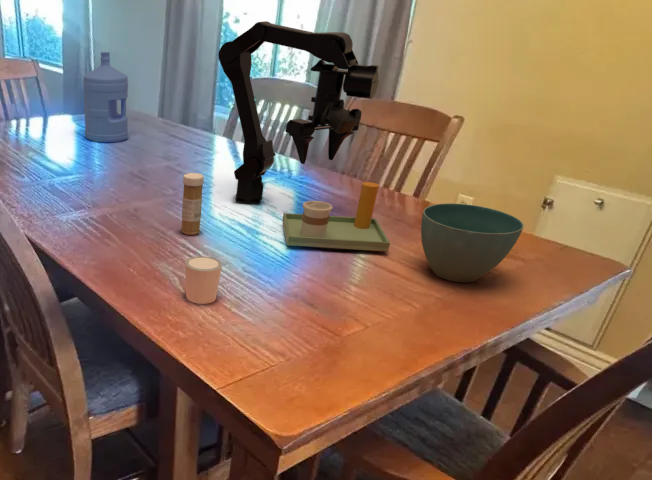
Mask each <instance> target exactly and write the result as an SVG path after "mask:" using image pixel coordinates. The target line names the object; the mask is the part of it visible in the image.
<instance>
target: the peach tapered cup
mask: <svg viewBox="0 0 652 480" xmlns="http://www.w3.org/2000/svg"><path fill="white" fill-rule="evenodd" d="M222 268H223V263H222V261H221V260H219V259H217V258H215V257H212V256H204V255H199V256H197V255H196V256H191V257H188V258H187V259H186V260H185V262H184V271H185V273H184V275H185V297H186V299H187V301H189V302H190V303H194V304H196V305H197V304H198V305H207V304H211V303H214V302H215V301H216V300H217V294H218V288H219V284H220V278H221V274H222V273H221V272H222Z"/></svg>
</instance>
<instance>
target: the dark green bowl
mask: <svg viewBox="0 0 652 480" xmlns="http://www.w3.org/2000/svg"><path fill="white" fill-rule="evenodd" d="M524 227H525V225H524V223H523V222H522V221H521V220H520V219H519V218H517V217H515V216H514V215H512V214H509V213H506V212H504V211H501V210H498V209H495V208H490V207H486V206H480V205H474V204H467V203H454V202H453V203H452V202H451V203H450V202H449V203H436V204H432V205H429V206H426V207H424V209H423V211H422V215H421V223H420V238H421V245H422V250H423V253H424V256H425V259H426V262H427V263H428V265H429V267H430V269H431V270H432V272H433V273H434V274H435V275H436V276H437V277H439V278H441V279H444V280H447V281H450V282H455V283H472V282H475V281H477V280H480V279H481V278H482V277H483V276H485V275H487V274H488V273H490V272H491V271H492V270H494V269H495V268H496V267H497V266H498V265H499V264H500V263H501V262H503V260H505V258H506V257H507V256H508V255H509V253H510V252H511V250H512V249H513V247H514V246H515V245H516V243H517V242H518V240H519V238H520V236H521V234H522V233H523V229H524Z"/></svg>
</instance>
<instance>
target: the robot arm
mask: <svg viewBox="0 0 652 480" xmlns="http://www.w3.org/2000/svg"><path fill="white" fill-rule="evenodd" d="M264 43H269V44H274V45H279V46H282V47H287V48H290V49H291V48H292V49H296V50H300V51H304V52H306V53H309V54H310V55H312V56H314V57H315V58H318V59H319V60H318V61H317V62H316V63H315V64H314V65H313V66H312V67H310V71H311V72H318V77H317V78H318V79H317V85H316V91H315V96H311V99H310V102H311V103H313V108H312V114H309V115H308V118H307V120H306V119H302V118H294V119H289V120H288V121H287V122H286V125H285V130H284V131H285V133H287V134H288V136H290V137H291V138H292V140H293V144H294V147H295V149H296V153H297V156H298V159H299V163H300V164H301V165H305V164H306V161H307V157H308V152H309V146H310V143H311V142H312V141H313V140H314V139H315V137H314V136H313V134H314V133H315V131H321V130H328V149H327V150H328V151H327V153H328V160H329V161H333V160H334V159H335V157H336V155H337V153H338V151H339V150H340V147H341V145H342V144H343V142H344V141H345V139H347V138H348V137H349V136H351V135H354V134H355V131H356V132H357V131H359V127H360V122H361V119H362V110H360V109H359V108H352V109H346V108H345V99H341V98H342V92H343V93H345V95H346V97H352V98H358V99H359V98H360V99H361V98H362V99H369V100H372V99H373V98H374V97H375V95H376V93H377V90H378V87H379V83H380V82H379V81H380V80H379V68H380V66H379V65H377V64H371V65H366V64H359V61H358V60H357V57H356V55H355V53H354V50H353V45H354V44H353V39H352V38H351V35H350V34H349V33H348V32H347V33H346V32H341V31H339V32H331V31H329V32H313V31H308V30H303V29H299V28H294V27H291V26H285V25H281V24H276V23H271V22H270V21H267V20H265V21H258V22H255V23H254V24H253V25H252V26H251V27H250V28H249V29H247V30H246V31H244V32H243V33H242V34H240V35H239V36H237V37H236V38H234V39H233V40H232V41H231V40H229V41H226V42H225V43H223V44H222V45H221V46H220V48H219V51H218V54H217V55H218V61H219V64H220V66H221V69H222V71H223V73H224V75H225V76H226V78H227V79H228V80H229V82H230V84H231V88H232V92H233V95H234V100H235V106H236V110H237V113H238V118H239V122H240V126H241V132H242V135H243V140H244V141H243V142H244V143H243V149H242V160H243V163H242V164H241V165H240V166H238V167H237V168H236V169H235V170H234V171H233V175H234V179H235V180H237V184H236V192H235V203H237V204H250V205H251V204H252V205H254V204H255V205H261V201H262V200H263V194H264V186H265V185H264V182H263V177H262V176H265V175H266V172H267V171H268V170H270V169H271V168H272V167H273V164H274V163H275V157H276V153H275V150H274V144H273V140H272V139H269V140H267V139H266V138H265V137H264V134H263V131H262V126H261V121H260V118H259V112H258V108H257V104H256V99H255V95H254V91H253V90H254V89H253V86H252V85H253V84H252V81H251V71H252V66H253V65H252V64H253V63H252V54H253V53H254V52H256V51H257V50H259V48H260V47H261V46H262V45H263V44H264Z"/></svg>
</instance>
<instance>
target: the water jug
mask: <svg viewBox="0 0 652 480" xmlns="http://www.w3.org/2000/svg"><path fill="white" fill-rule="evenodd" d="M110 54H111V52H106V51H105V52H104V51H102V52H100V65H99V66H98V67H95V68H94V69H92V70H91V71H88V72H87V73H85V74H84V75H83V82H82V83H83V84H82V85H83V86H82V87H83V99H84V101H83V102H84V103H83V104H84V106H83V112H84V136H85V138H86V139H87V140H88V141H91V142H94V143H118V142H123V141H125V140H127V139H128V137H129V131H128V116H127V98H128V96H129V95H128V93H129V92H128V90H129V81H128V80H129V79H128V75H127V74H125V73H123V72H122V71H120V70H118V69H116V68H114V67H113V66H111V58H110ZM118 101H120V113H118Z"/></svg>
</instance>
